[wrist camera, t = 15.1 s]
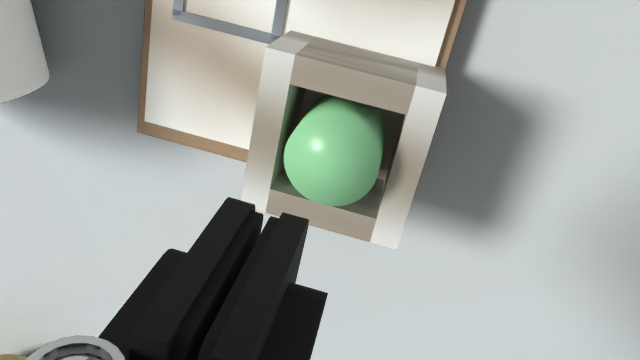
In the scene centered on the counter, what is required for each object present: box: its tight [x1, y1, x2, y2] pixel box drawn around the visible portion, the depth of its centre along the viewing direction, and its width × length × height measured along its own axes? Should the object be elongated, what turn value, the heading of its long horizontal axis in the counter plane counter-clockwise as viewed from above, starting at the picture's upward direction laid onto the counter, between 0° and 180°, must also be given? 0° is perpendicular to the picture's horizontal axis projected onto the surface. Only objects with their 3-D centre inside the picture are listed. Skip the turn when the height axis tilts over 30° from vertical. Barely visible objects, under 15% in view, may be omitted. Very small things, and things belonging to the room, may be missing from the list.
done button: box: [284, 94, 387, 206], centre depth 20 cm, size 3×3×3 cm
